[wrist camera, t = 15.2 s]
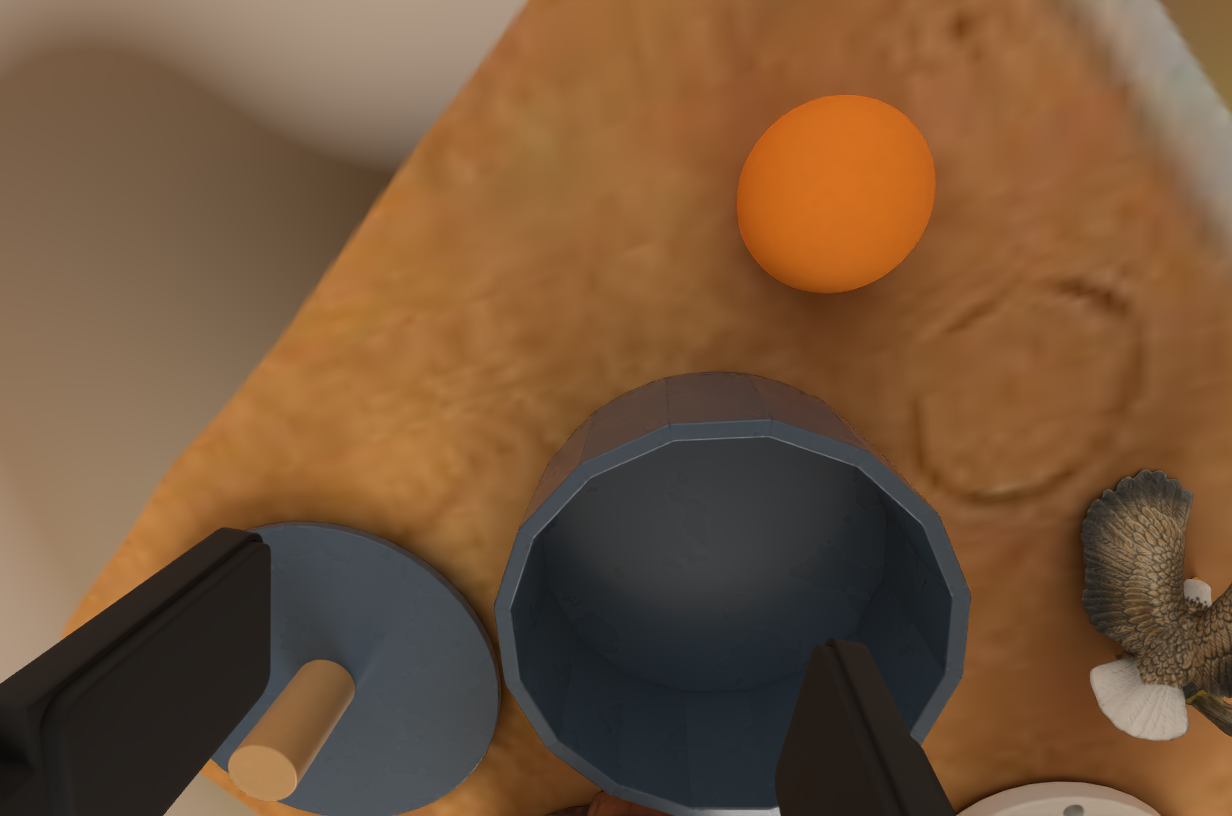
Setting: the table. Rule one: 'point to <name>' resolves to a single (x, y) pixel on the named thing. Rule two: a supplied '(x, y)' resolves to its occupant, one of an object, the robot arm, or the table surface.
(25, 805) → the robot arm
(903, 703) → the dark blue round container
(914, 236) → the orange ball
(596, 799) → the wooden figurine
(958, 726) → the table surface
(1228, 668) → the eagle figurine
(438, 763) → the pan lid
